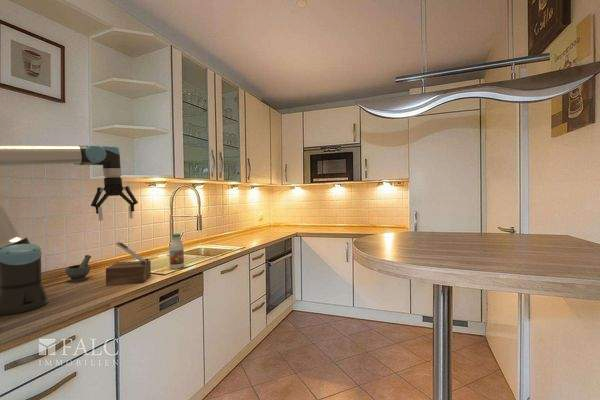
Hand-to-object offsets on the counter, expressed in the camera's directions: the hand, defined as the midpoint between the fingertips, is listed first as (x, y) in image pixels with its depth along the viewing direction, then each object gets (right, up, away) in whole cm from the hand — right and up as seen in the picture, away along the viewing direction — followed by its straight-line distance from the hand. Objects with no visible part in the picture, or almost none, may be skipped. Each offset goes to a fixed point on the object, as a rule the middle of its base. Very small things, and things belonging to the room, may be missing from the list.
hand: (116, 219), depth 144 cm
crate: (+7, -31, -1) cm, 31 cm away
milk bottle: (+20, -30, +24) cm, 44 cm away
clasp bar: (+8, -17, -1) cm, 19 cm away
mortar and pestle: (-19, -31, +1) cm, 36 cm away
